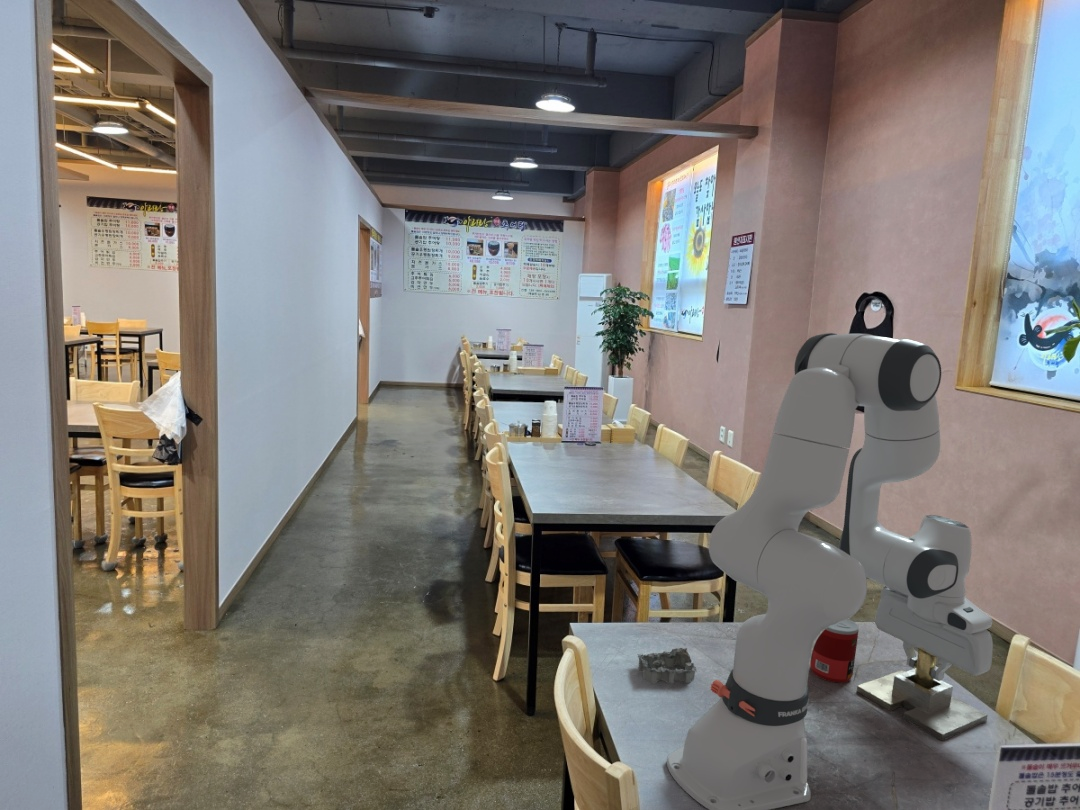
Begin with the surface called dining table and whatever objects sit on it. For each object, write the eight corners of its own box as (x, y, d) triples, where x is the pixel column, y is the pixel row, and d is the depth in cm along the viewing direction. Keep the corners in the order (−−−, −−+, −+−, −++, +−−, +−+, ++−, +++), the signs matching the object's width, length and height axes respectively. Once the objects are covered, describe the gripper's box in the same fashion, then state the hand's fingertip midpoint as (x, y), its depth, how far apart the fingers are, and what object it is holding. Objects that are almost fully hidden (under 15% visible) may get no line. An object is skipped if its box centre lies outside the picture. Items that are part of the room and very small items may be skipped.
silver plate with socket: (941, 741, 118) (945, 714, 117) (856, 691, 132) (859, 667, 132) (986, 720, 125) (990, 695, 124) (901, 675, 139) (904, 652, 138)
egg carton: (687, 666, 139) (689, 647, 138) (697, 686, 132) (699, 666, 131) (635, 664, 138) (637, 645, 138) (643, 685, 131) (644, 664, 130)
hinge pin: (925, 697, 126) (932, 652, 124) (906, 687, 129) (912, 642, 128) (938, 693, 128) (944, 647, 126) (918, 682, 131) (924, 638, 129)
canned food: (856, 686, 134) (863, 633, 132) (813, 680, 136) (819, 628, 134) (847, 666, 142) (853, 616, 140) (806, 660, 143) (812, 611, 141)
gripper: (872, 583, 133) (863, 650, 135) (982, 629, 115) (970, 705, 117) (893, 578, 136) (884, 643, 138) (1002, 622, 118) (990, 696, 121)
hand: (924, 672), depth 128 cm, fingers closed on hinge pin, 3 cm apart
